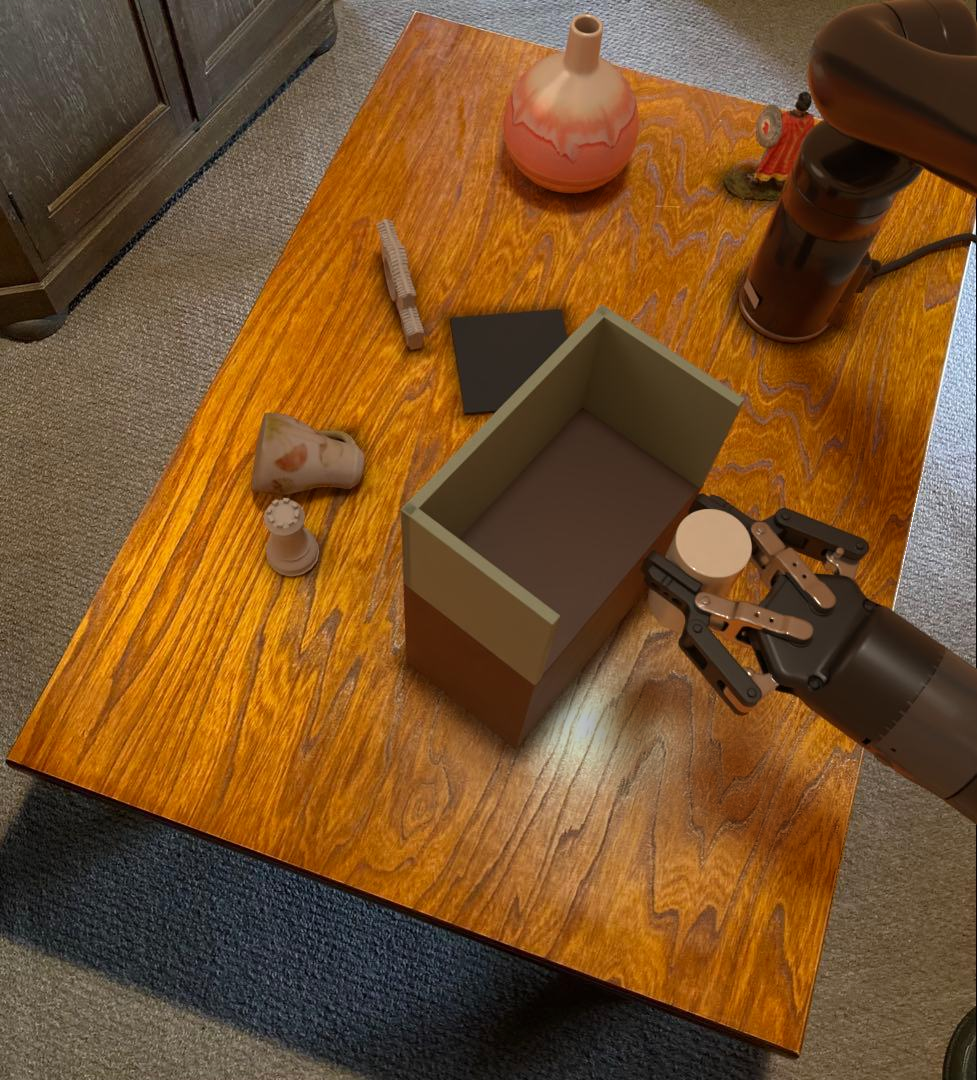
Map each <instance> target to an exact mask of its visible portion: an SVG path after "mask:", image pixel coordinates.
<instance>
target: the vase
mask: <svg viewBox="0 0 977 1080" xmlns="http://www.w3.org/2000/svg"><path fill="white" fill-rule="evenodd" d="M603 35H604V23H603V22H602V20H601V19H600V18H599V17H598V16H596V15H593V14H590V13H582V14H578V15H576V16H574V17H573V18H572V19H571V21H570V24H569V28H568V34H567V40H566V47H565V50H563V51H562V50H561V51H558V52H554V53H551V54H549V55H547V56H545V57H543V58H541V59H539V60H538V61H536V62H534V63H533V64H532V65H531V66H529V67H528V68H527V69H526V70H525V71H524V72H523V73H522V74H521V76H520V77H519V78H518V80H517V81H516V83H515V84H514V86H513V88H512V90H511V92H510V94H509V96H508V99H507V101H506V104H505V107H504V114H503V121H502V123H503V127H502V129H503V139H504V143H505V147H506V150H507V152H508V155H509V157H510V158H511V160H512V163H514V165H515V166H516V168H517V169H518V170H519V171H520V173H521V174H522V175H524V177H525V178H527V179H528V180H530V181H531V182H533V184H535V185H537V186H538V187H540V188H544V189H546V190H549V191H552V192H557V193H562V194H579V193H580V194H581V193H586V192H589V191H593V190H595V189H597V188H601V187H602V186H604V185H606V184H608V183H609V182H610V181H611V180H614V178H615V177H617V176H618V175H620V173H621V172H622V170H623V169H624V168H625V167H626V165H627V164H628V163H629V161H630V159H631V157H632V156H633V153H634V151H635V148H636V144H637V142H638V137H639V127H640V116H639V108H638V102H637V99H636V96H635V93H634V91H633V89H632V86H631V85H630V82H628V80H627V78H626V77H625V75H623V73H622V72H621V71H620V70H619V68H617V66H615V65H614V64H613V63H612V62H610V61H609V60H607V59H606V58H604V57H603V56H600V53H601V48H602V42H603V41H602V40H603Z"/></svg>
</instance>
